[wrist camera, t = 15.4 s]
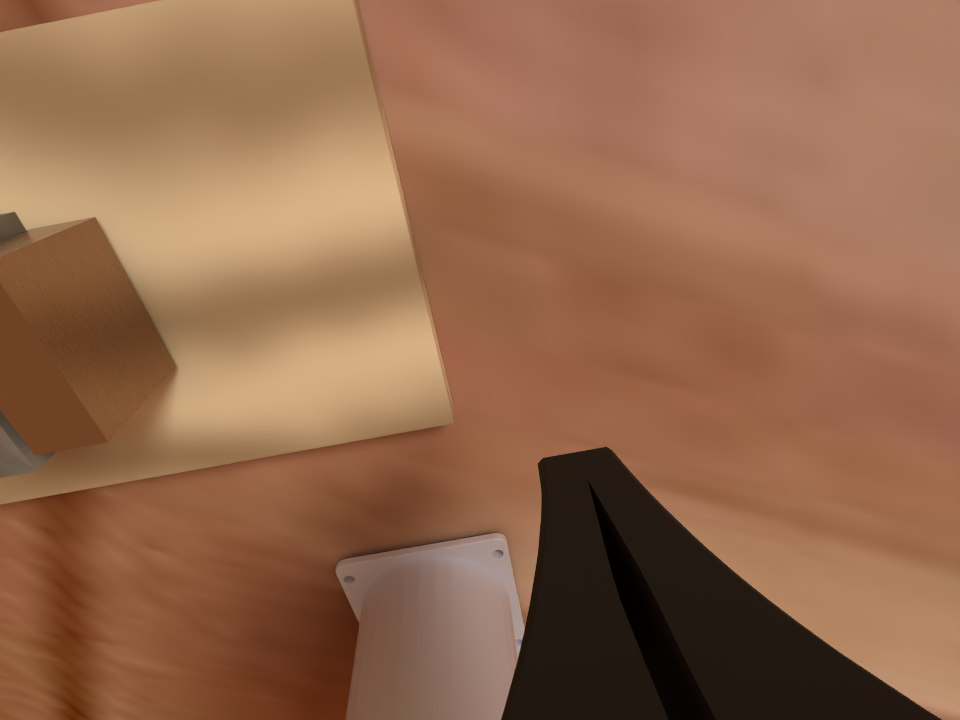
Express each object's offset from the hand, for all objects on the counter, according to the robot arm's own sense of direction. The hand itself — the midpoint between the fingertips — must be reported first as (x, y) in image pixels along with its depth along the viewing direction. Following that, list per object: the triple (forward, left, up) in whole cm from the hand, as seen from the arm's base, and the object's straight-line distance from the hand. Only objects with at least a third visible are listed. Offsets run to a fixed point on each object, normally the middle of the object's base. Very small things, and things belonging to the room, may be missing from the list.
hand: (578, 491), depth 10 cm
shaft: (+3, +16, -8) cm, 18 cm away
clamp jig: (+3, +17, -9) cm, 20 cm away
